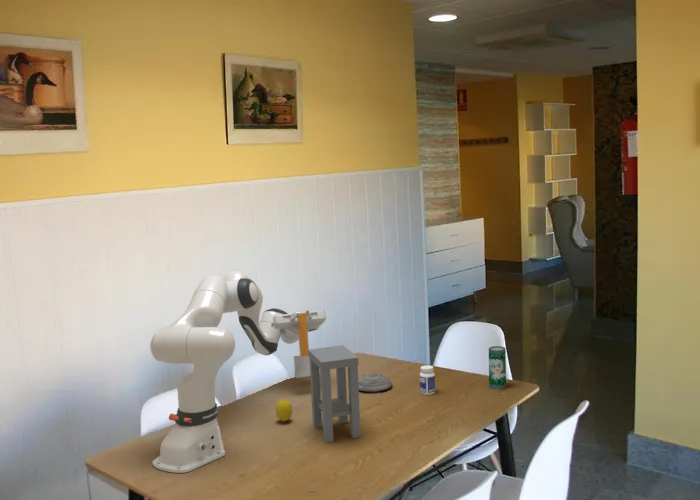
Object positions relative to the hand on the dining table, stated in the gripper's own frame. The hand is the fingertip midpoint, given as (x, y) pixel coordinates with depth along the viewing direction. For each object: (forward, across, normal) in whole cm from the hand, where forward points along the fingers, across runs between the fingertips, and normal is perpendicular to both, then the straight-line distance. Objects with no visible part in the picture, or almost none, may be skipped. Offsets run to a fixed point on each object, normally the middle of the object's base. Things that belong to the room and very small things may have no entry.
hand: (302, 313), depth 249 cm
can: (+3, +69, +39) cm, 79 cm away
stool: (+17, 0, +46) cm, 49 cm away
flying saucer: (-14, +26, +29) cm, 41 cm away
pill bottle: (-1, +42, +36) cm, 56 cm away
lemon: (+4, -14, +39) cm, 42 cm away
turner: (-8, 0, +10) cm, 13 cm away
